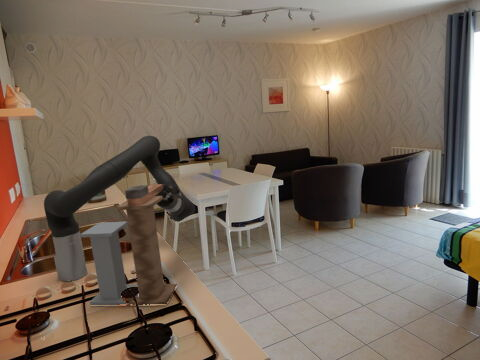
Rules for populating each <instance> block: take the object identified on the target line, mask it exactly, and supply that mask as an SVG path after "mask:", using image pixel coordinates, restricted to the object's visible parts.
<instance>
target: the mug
mask: <svg viewBox="0 0 480 360" xmlns="http://www.w3.org/2000/svg"><path fill="white" fill-rule="evenodd" d="M106 201H107V195H106V190H104V191H103V192H101V193H100V194H98V195H96V196H95V197H93V198H92V199H91V200H89V201H88V202H87V204H98V203H99V204H100V203H103V202H106Z"/></svg>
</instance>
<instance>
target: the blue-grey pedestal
mask: <svg viewBox="0 0 480 360" xmlns="http://www.w3.org/2000/svg"><path fill="white" fill-rule="evenodd" d="M127 226H129V225H128V220H127V221H107V222H106V221H105V222H102V221H101V222H98V223H96V224H95V225H93V226H92V227H90V228H88V229H86V230H85V231H83V232H81V233H80V236H81V238H89V239H90V245H91V251H92V256H93V261H94V268H95V274H96V278H97V286H98V290H99V292H98V293H97V294H96V295H95V296H94V297H93V298H92V299H91V300H90V301H89V306H90V305H120V304H126V301H123V300H122V297H121V293H122V291H124V290H125V289H127V288H130V287H138V284H127V280H126V274H125V266H124V262H123V260H124V259H123V254H122V248H121V242H120V236H119V232H120V231H121V230H122V229H124V228H125V227H127Z"/></svg>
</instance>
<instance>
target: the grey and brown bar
mask: <svg viewBox="0 0 480 360" xmlns="http://www.w3.org/2000/svg"><path fill="white" fill-rule="evenodd" d="M162 190H163V184H157V183H156V184H150V185H149V186H148V185H147V184H145V185H142V186H141V185H133V186H131V187H129V188H127V189H126V190H125V189H124V193H125V199H126V201H127V202H128V206H129V205H142V204H143V203H145V202H146V201H147V200H149V199H150V198H152V197H153V196H155V195H156V194H158V193H159V192H161V191H162Z"/></svg>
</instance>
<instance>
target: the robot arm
mask: <svg viewBox="0 0 480 360" xmlns="http://www.w3.org/2000/svg"><path fill="white" fill-rule="evenodd" d="M160 149H161V142H160V140H159V139H158V138H157V136H153V135H146V136H143V137H141V138H140V139H138V140H137V141H136V142H134V143H133V144H132V145H130V146H129V147H128V148H127V149H125V150H124V151H122V152H120V153H119V154H117V155H115V156H113V157H112V158H110V159H108V160H106V161H105V162H103V163H101V164H100V165H98V166H97V167H95V168H94V169H93V170H92V171H91V172H90V173H89V174H88V175H87V176H86V177H85V179H83V181H81V182H80V183H78V184H76V185H75V186H73V187H71V188H69V189H67V190H52V191H50V192H49V193H47V194H46V195H45V197H44V200H43V208H44V213H45V218H46V222H47V225H48V228H49V230H50V233H51V236H52V241H53V246H54V250H55V251H54V252H55V255H54V256H53V259H54V263H55V269H56V270H55V271H56V273H57V280H59V281H63V282H69V281H68V280H72V281H77V280H79V279H82V278H83V277H85V276H87V274H88V270H87V264H86V259H85V252H84V248H83V243H82V237H81V235H80V234H81V231H80V230H81V229H80V225H79V223H78V222H77V221H76V219H75V217H74V214H75V213H76V212H77V211H79V210H80V209H81V208H82V207H83V206H85V205H86V204H88V201H89V200H91V199H92V198H93V197H95V196H96V195H98V194H100V193H101V192H103V191H104V190H105V191H106V190H107V189H109V188H111V187H112V186H114V185H115V184H117V183H118V182H119V181H122V179H124V178H125V177H126V176H127V175H128V174H129V173H130V172H131V171H132V170H133V169H134V167H135V166H136V165H137V164H138V163H140V162H141V163H142V164H143V166H144V167H145V168H146V169H147V170H148V172H149V173H150V175H151V176H152V177H153V179H154V180H155V182H156V185H157V184H163V190H162V191H161V192H159V193H158V194H156V195H155V196H163V199H162V200H161V201H160V202H158V203H157V204H156V205H157V206H158V207H160V208H161V209H163V210H164V211H166V212H169V215H170V217H171V219H172V220H173V221H174V222H177V223H178V222H182V221H183V220H184V219H186V218H188V217H189V216H191V215H193V214H195V212H196V206H195V204H194V203H193V202H192V201H191V200H190V199H189V198H188V197H187V196H186V195H185V194H184V192H182V190H181V188H180V186H179V185H178V183H177V181H176V180H175V178H174V177H173V175H172V174H170V173H169V172H168V171H167V170H165V169H164V167H163V166H162V165H161V162H160V160H159V158H158V154H159V152H160ZM140 186H143V185H140Z"/></svg>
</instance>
